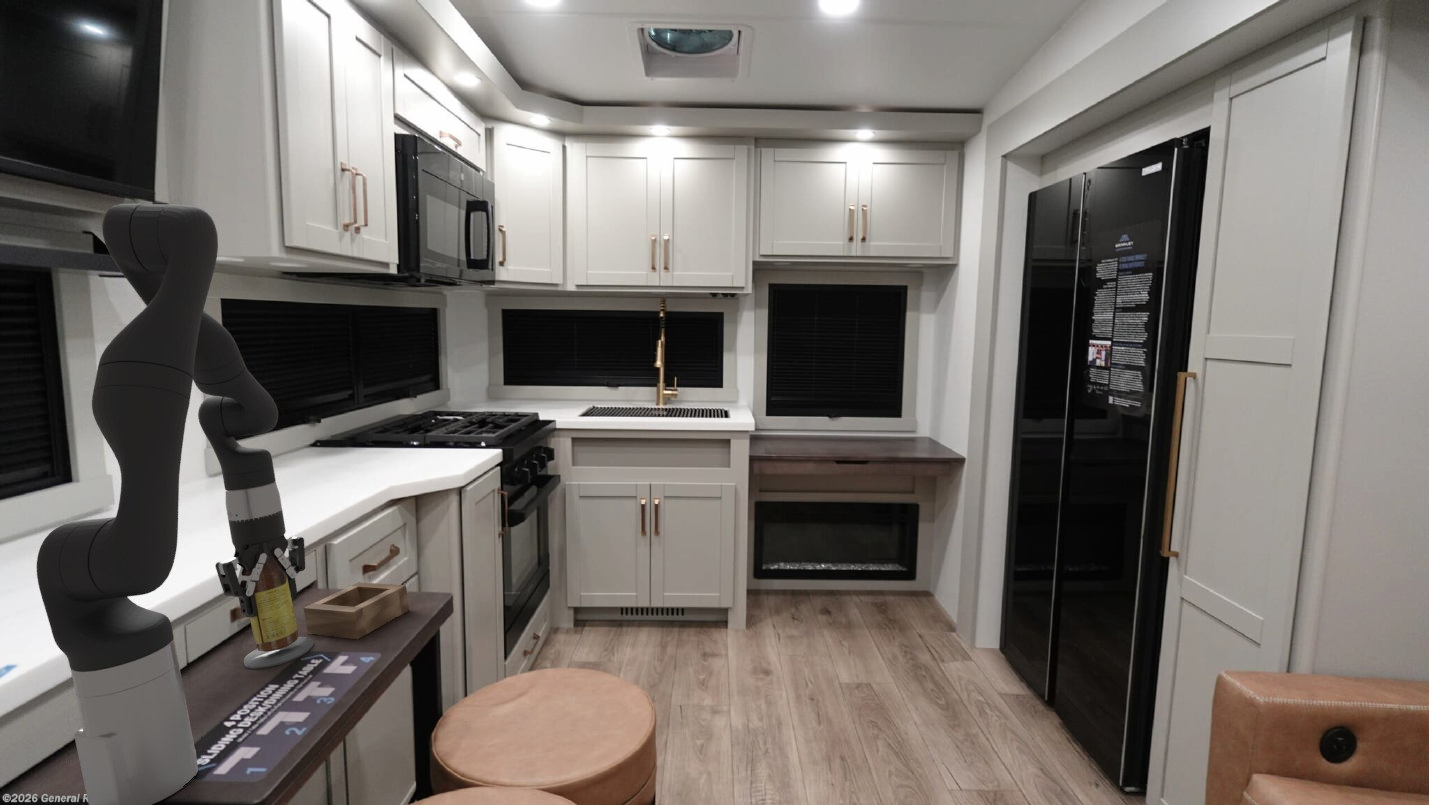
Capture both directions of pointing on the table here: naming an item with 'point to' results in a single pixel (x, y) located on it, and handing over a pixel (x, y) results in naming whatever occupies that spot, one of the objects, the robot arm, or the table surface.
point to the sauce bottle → (273, 606)
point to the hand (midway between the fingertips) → (271, 607)
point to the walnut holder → (356, 610)
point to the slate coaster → (278, 654)
